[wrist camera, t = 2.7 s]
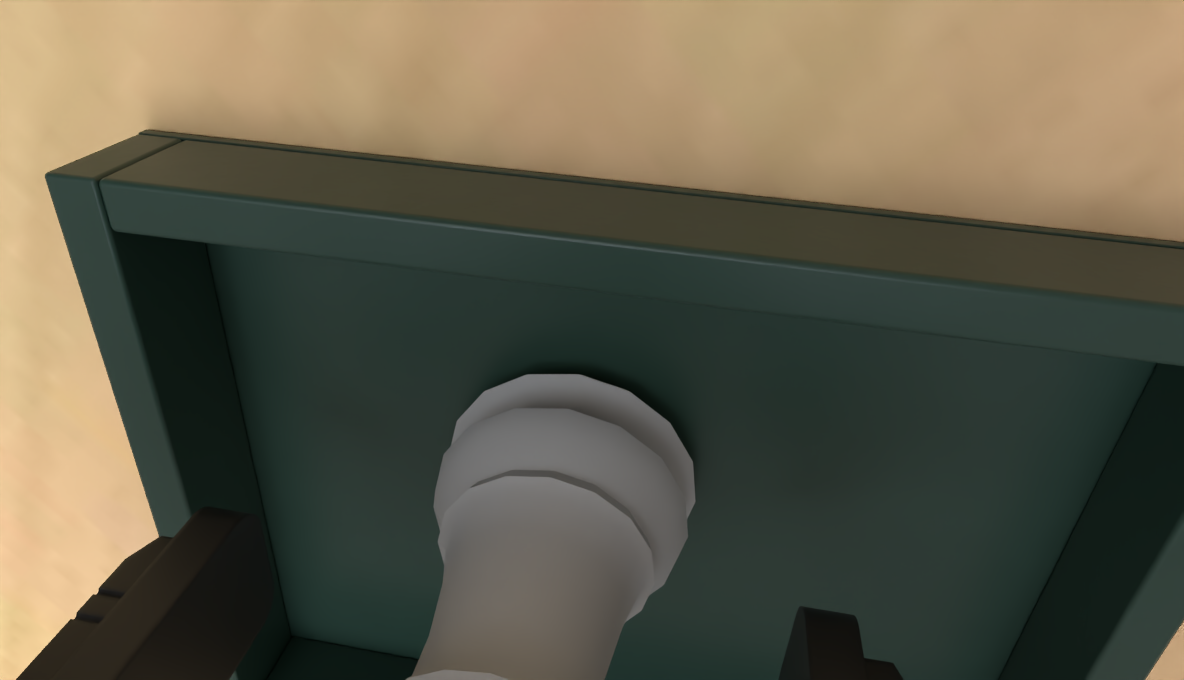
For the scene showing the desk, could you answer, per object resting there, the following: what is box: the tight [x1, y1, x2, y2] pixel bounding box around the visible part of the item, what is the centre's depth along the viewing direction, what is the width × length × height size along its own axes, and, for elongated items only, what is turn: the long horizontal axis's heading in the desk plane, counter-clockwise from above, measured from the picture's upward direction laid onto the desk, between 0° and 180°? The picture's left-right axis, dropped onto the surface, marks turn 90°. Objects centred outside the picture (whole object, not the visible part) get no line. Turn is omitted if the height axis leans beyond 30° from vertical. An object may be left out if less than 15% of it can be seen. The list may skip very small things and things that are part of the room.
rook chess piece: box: [406, 374, 696, 680], centre depth 11 cm, size 4×4×8 cm
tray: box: [45, 130, 1184, 680], centre depth 14 cm, size 17×13×2 cm
